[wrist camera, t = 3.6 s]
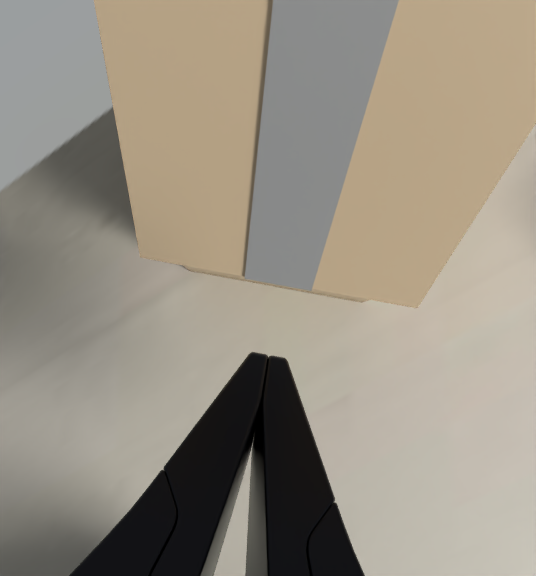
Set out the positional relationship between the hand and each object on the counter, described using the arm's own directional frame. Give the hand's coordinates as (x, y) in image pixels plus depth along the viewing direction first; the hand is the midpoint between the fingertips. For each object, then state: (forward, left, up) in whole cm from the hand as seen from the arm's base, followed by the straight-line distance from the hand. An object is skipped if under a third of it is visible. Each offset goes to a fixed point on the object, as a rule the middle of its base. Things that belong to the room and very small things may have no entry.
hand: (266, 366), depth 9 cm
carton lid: (+6, 0, -1) cm, 6 cm away
